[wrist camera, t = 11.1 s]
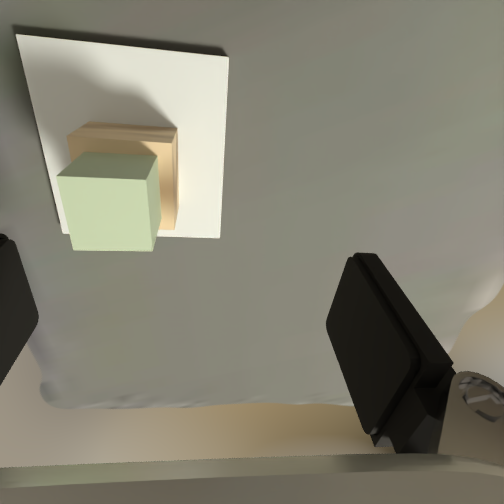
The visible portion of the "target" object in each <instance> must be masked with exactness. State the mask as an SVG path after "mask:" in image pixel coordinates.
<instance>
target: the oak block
mask: <svg viewBox="0 0 504 504" xmlns="http://www.w3.org/2000/svg"><path fill="white" fill-rule="evenodd" d="M66 137H67V142H68V147H69V152H70V157H71V163H72V162H73V161H74V160H75V159H76V158H77V157H79V156H80V155H81V154H82V153H83V152H96V153H115V154H134V155H153V156H158V171H159V186H160V201H161V216H162V219H161V222H160V226H159V230H175V225H176V220H177V214H178V209H179V170H178V128H170V127H157V126H144V125H130V124H117V123H104V122H91V121H89V122H87V123H86V124H84V125H83V126H81V127H80V128H78V129H76V130H75V131H73V132H72V133H70V134H69V135H67V136H66Z"/></svg>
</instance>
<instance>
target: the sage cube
mask: <svg viewBox="0 0 504 504" xmlns="http://www.w3.org/2000/svg"><path fill="white" fill-rule="evenodd" d="M56 179H57V183H58V187H59V192H60V196H61V200H62V204H63V208H64V212H65V217H66V221H67V225H68V229H69V233H70V238H71V242H72V246H73V250H99V251H153V248H154V244H155V240H156V237H157V233H158V230H159V226H160V222H161V219H162V216H161V201H160V186H159V171H158V156H153V155H134V154H115V153H96V152H83V153H82V154H81V155H80V156H79V157H77V158H76V159H75V160H74V161H73V162H72V163H70V164H69V165H68V166H67V167H66V168H65V169H63V170H62V171H61V172H60V173H59V174H58V175H56Z"/></svg>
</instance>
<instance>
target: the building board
mask: <svg viewBox="0 0 504 504" xmlns="http://www.w3.org/2000/svg"><path fill="white" fill-rule="evenodd" d="M16 38H17V42H18V46H19V51H20V55H21V59H22V63H23V67H24V72H25V76H26V80H27V84H28V88H29V93H30V97H31V101H32V105H33V109H34V114H35V118H36V122H37V126H38V131H39V135H40V139H41V143H42V147H43V152H44V156H45V160H46V164H47V168H48V173H49V177H50V181H51V185H52V190H53V194H54V198H55V202H56V206H57V211H58V215H59V219H60V223H61V227H62V232H63V233H65V234H70V233H69V229H68V225H67V221H66V217H65V212H64V208H63V204H62V200H61V196H60V192H59V187H58V183H57V179H56V175H58V174H59V173H60V172H61V171H62V170H63V169H65V168H66V167H67V166H68V165H69V164H70V163H71V157H70V152H69V147H68V142H67V137H66V136H67V135H69V134H70V133H72V132H73V131H75V130H76V129H78V128H80V127H81V126H83V125H84V124H86V123H87V122H89V121H91V122H104V123H117V124H130V125H144V126H157V127H170V128H178V170H179V209H178V214H177V220H176V225H175V230H158V233H157V236H166V237H199V238H220V225H221V205H222V185H223V165H224V146H225V126H226V106H227V86H228V67H229V57H225V56H216V55H207V54H197V53H188V52H179V51H170V50H160V49H151V48H142V47H133V46H124V45H114V44H105V43H96V42H87V41H77V40H68V39H59V38H50V37H40V36H31V35H21V34H16Z"/></svg>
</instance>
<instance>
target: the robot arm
mask: <svg viewBox="0 0 504 504" xmlns="http://www.w3.org/2000/svg"><path fill="white" fill-rule="evenodd" d="M38 318H39V315H38V310H37V307H36V304H35V301H34V298H33V295H32V292H31V289H30V286H29V283H28V280H27V277H26V274H25V271H24V268H23V265H22V262H21V259H20V256H19V253H18V250H17V247H16V244H15V242H14V241H13V240H9V239H8V237H7V236H6V235H4V234H0V385H1V384H2V382H3V380H4V379H5V377H6V375H7V374H8V372H9V370H10V369H11V367H12V365H13V364H14V362H15V360H16V359H17V357H18V355H19V354H20V352H21V350H22V349H23V347H24V346H25V344H26V342H27V341H28V339H29V337H30V336H31V334H32V332H33V331H34V329H35V327H36V325H37V323H38ZM326 329H327V332H328V335H329V338H330V341H331V343H332V346H333V349H334V351H335V354H336V357H337V360H338V362H339V365H340V368H341V371H342V373H343V376H344V379H345V382H346V384H347V387H348V390H349V392H350V395H351V398H352V401H353V403H354V406H355V409H356V411H357V414H358V417H359V419H360V422H361V425H362V428H363V430H364V432H365V433H366V434H370V436H371V438H372V441H373V444H374V446H375V447H386V446H387V447H389V446H393V447H394V450H395V452H396V454H348V455H347V454H346V455H316V456H289V457H259V458H232V459H231V458H229V459H203V460H177V461H153V462H152V461H151V462H126V463H103V464H78V465H55V466H32V467H9V468H0V504H504V387H502V386H501V385H500V384H498V383H497V382H495V381H493V380H492V379H490V378H489V377H486V376H484V375H481V374H479V373H475V372H470V371H464V372H459V373H457V374H456V372H455V371H454V369H453V368H452V365H453V361H452V360H451V359H450V357H449V356H448V354H447V353H446V351H445V350H444V349H443V347H442V346H441V344H440V343H439V342H438V340H437V339H436V337H435V336H434V335H433V333H432V332H431V330H430V329H429V328H428V326H427V325H426V323H425V322H424V320H423V319H422V318H421V316H420V315H419V313H418V312H417V311H416V309H415V308H414V306H413V305H412V304H411V302H410V301H409V299H408V298H407V297H406V295H405V294H404V292H403V291H402V290H401V288H400V287H399V285H398V284H397V282H396V281H395V280H394V278H393V277H392V275H391V274H390V273H389V271H388V270H387V268H386V267H385V266H384V264H383V263H382V261H381V260H380V259H379V257H378V256H377V255H376V254H374V253H355V254H354V255H353V257H349V258H348V260H347V262H346V265H345V268H344V271H343V273H342V276H341V279H340V282H339V285H338V288H337V291H336V294H335V297H334V300H333V302H332V305H331V308H330V311H329V314H328V317H327V320H326Z"/></svg>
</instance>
